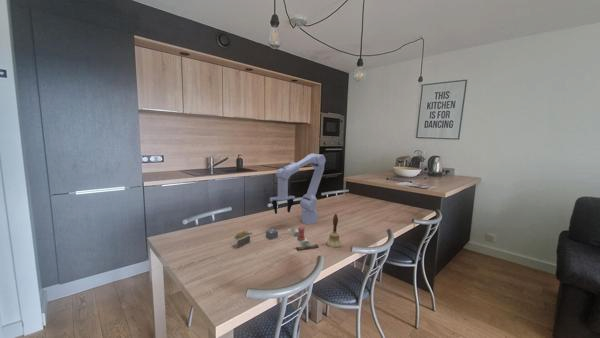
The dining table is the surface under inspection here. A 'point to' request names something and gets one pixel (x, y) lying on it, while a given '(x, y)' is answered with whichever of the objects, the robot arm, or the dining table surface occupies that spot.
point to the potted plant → (242, 238)
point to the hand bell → (334, 235)
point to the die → (272, 234)
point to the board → (305, 244)
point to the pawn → (301, 233)
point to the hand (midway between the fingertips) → (282, 212)
